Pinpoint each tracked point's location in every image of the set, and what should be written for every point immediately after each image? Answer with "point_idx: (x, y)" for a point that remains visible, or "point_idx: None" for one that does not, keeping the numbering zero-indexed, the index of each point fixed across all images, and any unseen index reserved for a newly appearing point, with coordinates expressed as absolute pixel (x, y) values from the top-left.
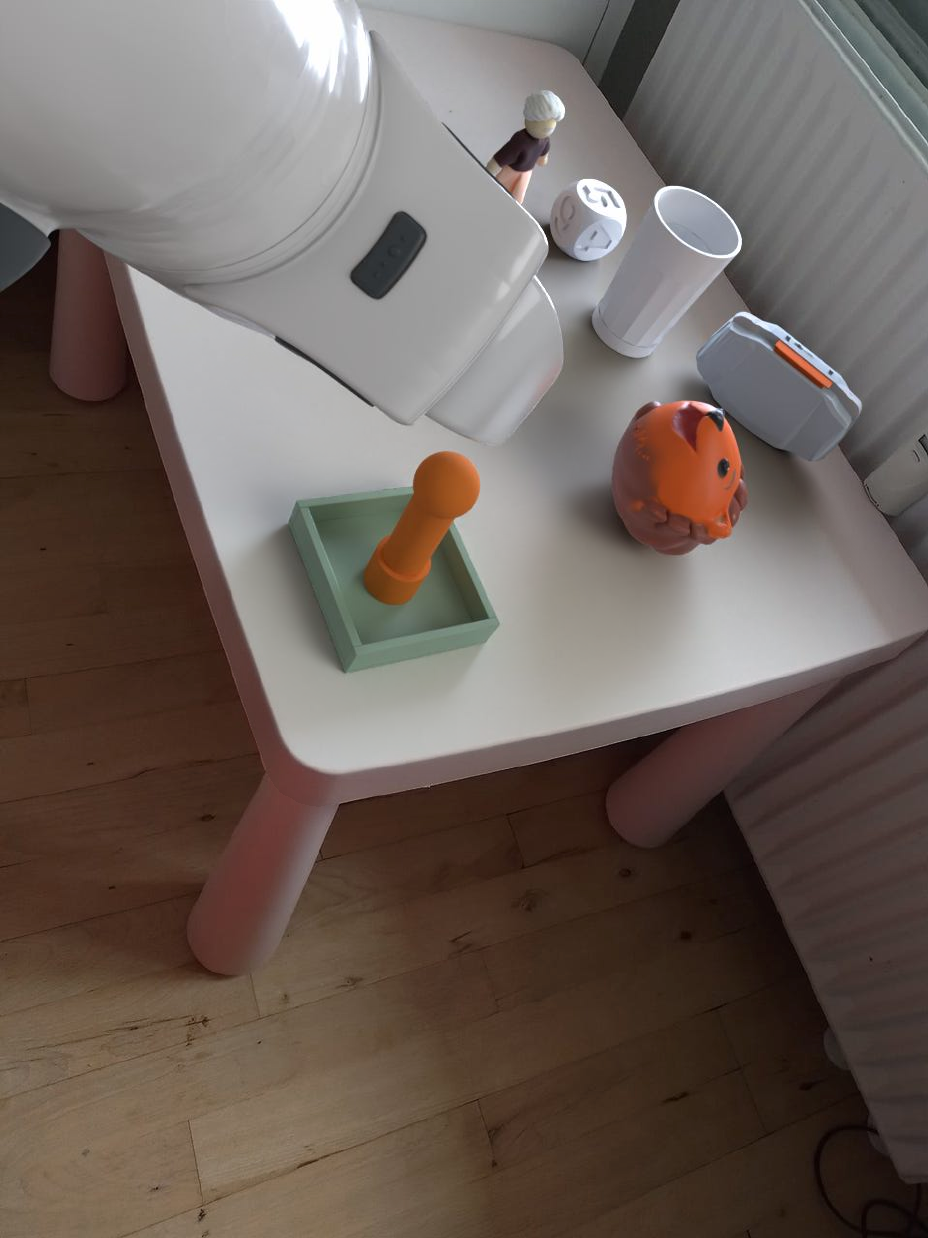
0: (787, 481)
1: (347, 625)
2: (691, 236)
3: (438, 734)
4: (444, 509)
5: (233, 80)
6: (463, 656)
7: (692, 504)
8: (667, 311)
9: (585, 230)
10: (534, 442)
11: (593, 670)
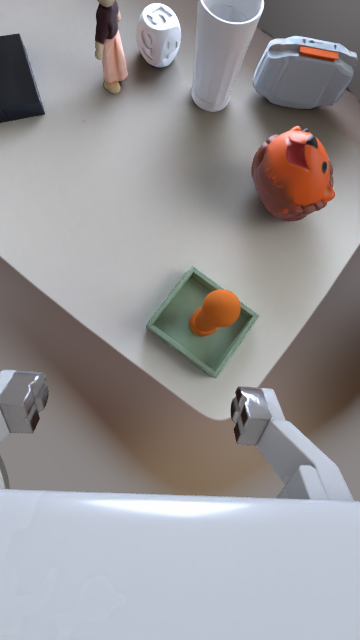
0: (323, 124)
1: (204, 367)
2: (225, 8)
3: (259, 373)
4: (229, 325)
5: None
6: (248, 331)
7: (314, 196)
8: (234, 72)
9: (163, 47)
10: (211, 198)
11: (298, 295)
